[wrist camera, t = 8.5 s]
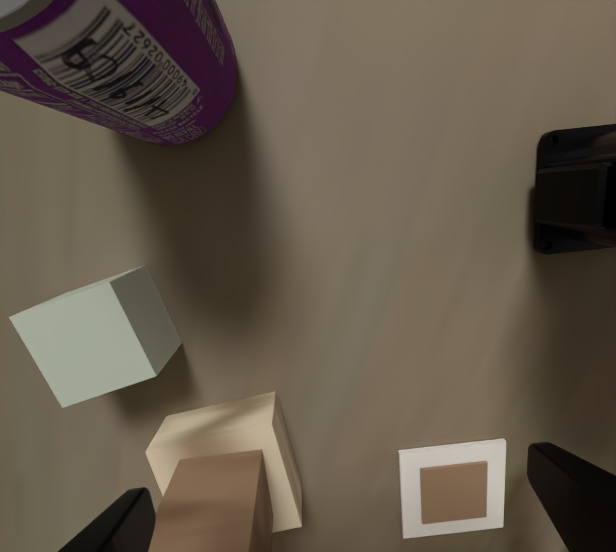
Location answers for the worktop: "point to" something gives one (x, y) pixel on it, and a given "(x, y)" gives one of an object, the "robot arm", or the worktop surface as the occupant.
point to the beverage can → (122, 63)
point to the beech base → (234, 447)
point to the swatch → (452, 488)
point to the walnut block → (216, 506)
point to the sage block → (100, 336)
